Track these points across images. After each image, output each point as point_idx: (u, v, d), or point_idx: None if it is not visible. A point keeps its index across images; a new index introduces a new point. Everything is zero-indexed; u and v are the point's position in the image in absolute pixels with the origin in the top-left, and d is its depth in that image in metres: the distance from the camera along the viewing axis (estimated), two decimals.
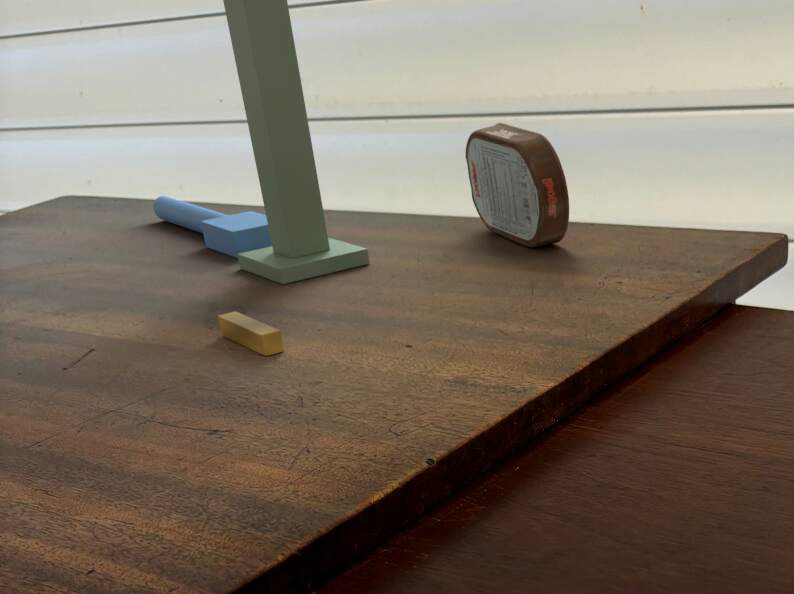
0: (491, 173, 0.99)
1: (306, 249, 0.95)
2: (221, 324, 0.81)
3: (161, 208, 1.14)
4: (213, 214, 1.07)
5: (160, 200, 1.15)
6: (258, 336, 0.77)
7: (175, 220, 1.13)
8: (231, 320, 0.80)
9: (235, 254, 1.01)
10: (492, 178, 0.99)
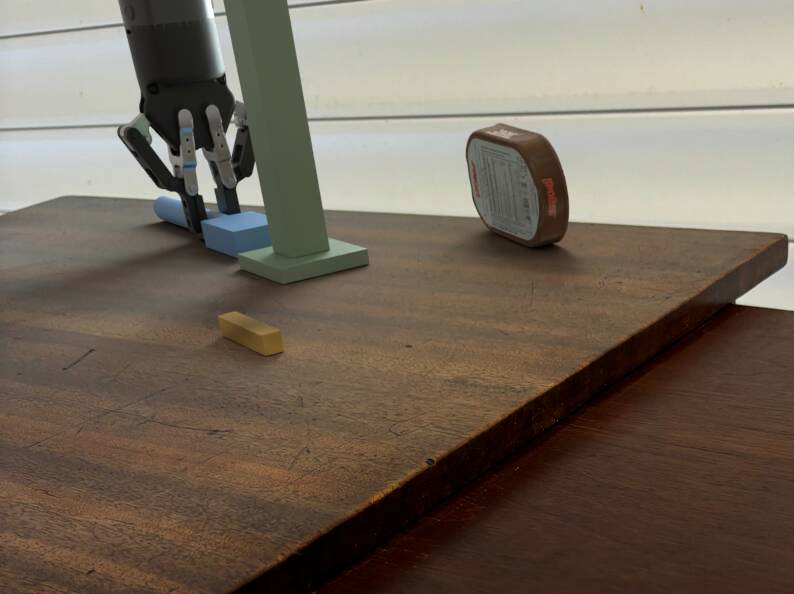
0: (491, 173, 0.99)
1: (306, 249, 0.95)
2: (221, 324, 0.81)
3: (161, 208, 1.14)
4: (213, 214, 1.07)
5: (160, 200, 1.15)
6: (258, 336, 0.77)
7: (175, 220, 1.13)
8: (231, 320, 0.80)
9: (235, 254, 1.01)
10: (492, 178, 0.99)
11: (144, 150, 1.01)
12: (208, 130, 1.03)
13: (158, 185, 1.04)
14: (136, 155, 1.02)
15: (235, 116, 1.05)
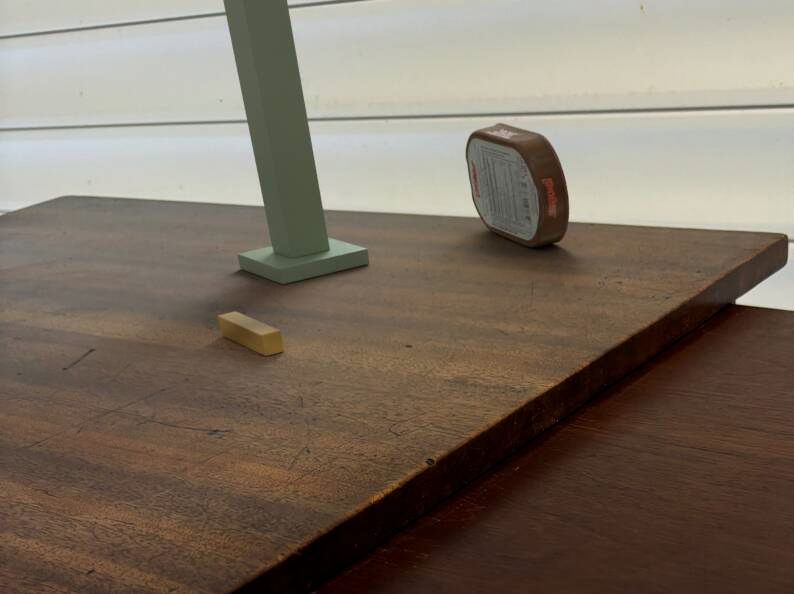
0: (491, 173, 0.99)
1: (306, 249, 0.95)
2: (221, 324, 0.81)
3: None
4: None
5: None
6: (258, 336, 0.77)
7: None
8: (231, 320, 0.80)
9: None
10: (492, 179, 0.99)
11: None
12: None
13: None
14: None
15: None
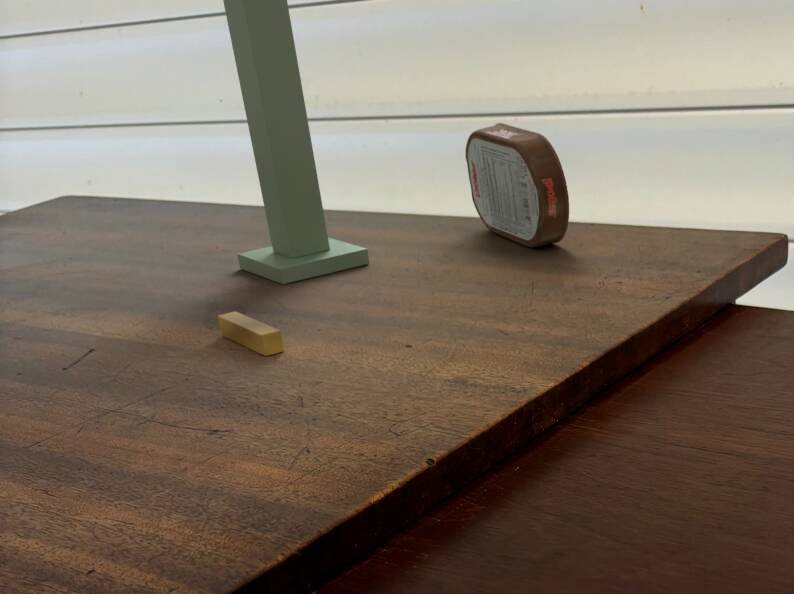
0: (491, 173, 0.99)
1: (306, 249, 0.95)
2: (221, 324, 0.81)
3: None
4: None
5: None
6: (258, 336, 0.77)
7: None
8: (231, 320, 0.80)
9: None
10: (492, 179, 0.99)
11: None
12: None
13: None
14: None
15: None
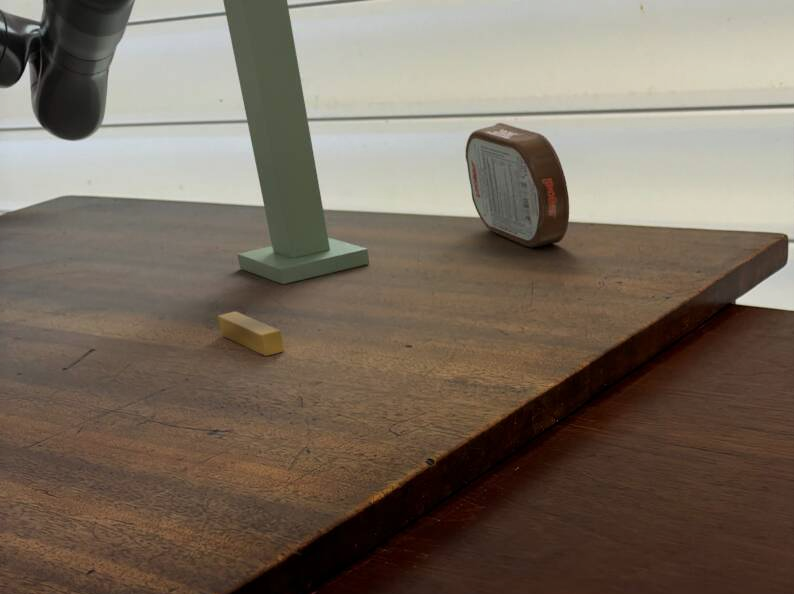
0: (491, 173, 0.99)
1: (306, 249, 0.95)
2: (221, 324, 0.81)
3: None
4: None
5: None
6: (258, 336, 0.77)
7: None
8: (231, 320, 0.80)
9: None
10: (492, 179, 0.99)
11: None
12: None
13: None
14: None
15: None
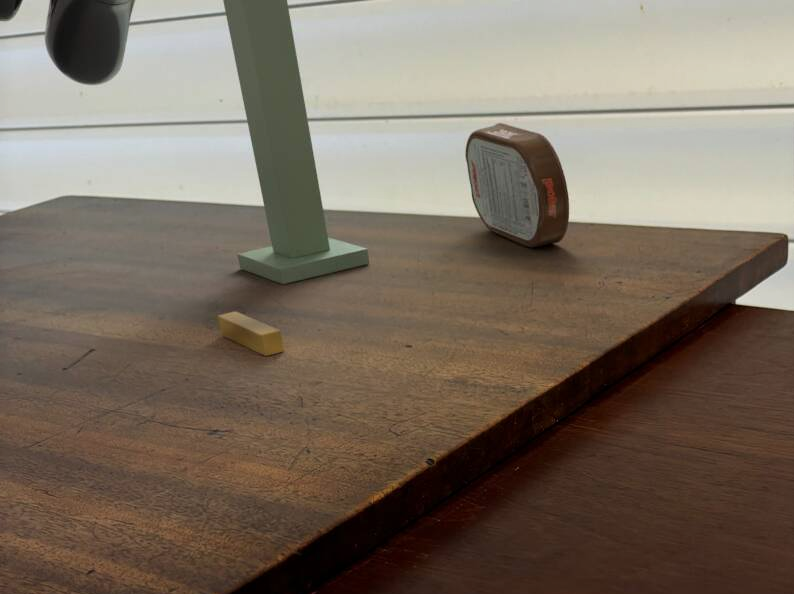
0: (491, 173, 0.99)
1: (306, 249, 0.95)
2: (221, 324, 0.81)
3: None
4: None
5: None
6: (258, 336, 0.77)
7: None
8: (231, 320, 0.80)
9: None
10: (492, 179, 0.99)
11: None
12: None
13: None
14: None
15: None
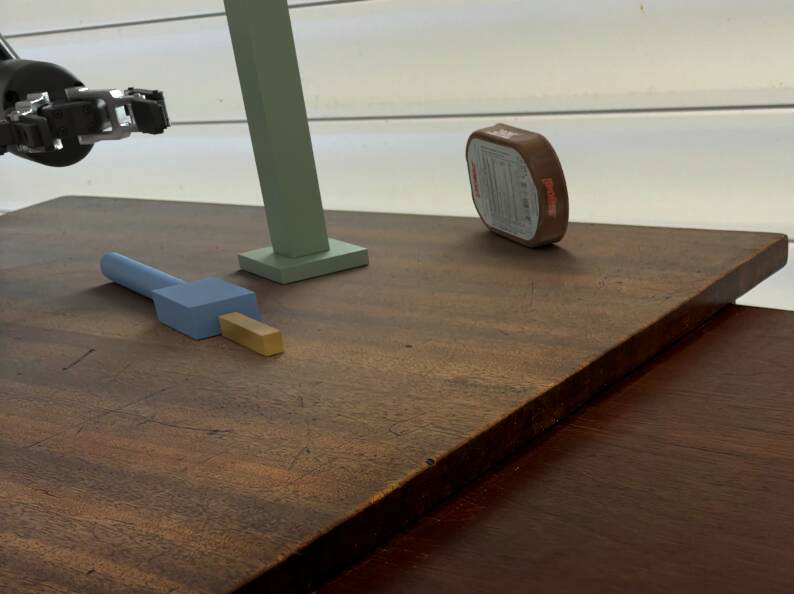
0: (490, 173, 0.99)
1: (306, 249, 0.95)
2: (221, 325, 0.81)
3: (109, 268, 0.95)
4: (168, 280, 0.87)
5: (108, 258, 0.95)
6: (258, 337, 0.77)
7: (125, 283, 0.93)
8: (231, 320, 0.80)
9: (192, 334, 0.82)
10: (492, 179, 0.99)
11: None
12: (84, 98, 0.91)
13: None
14: None
15: None
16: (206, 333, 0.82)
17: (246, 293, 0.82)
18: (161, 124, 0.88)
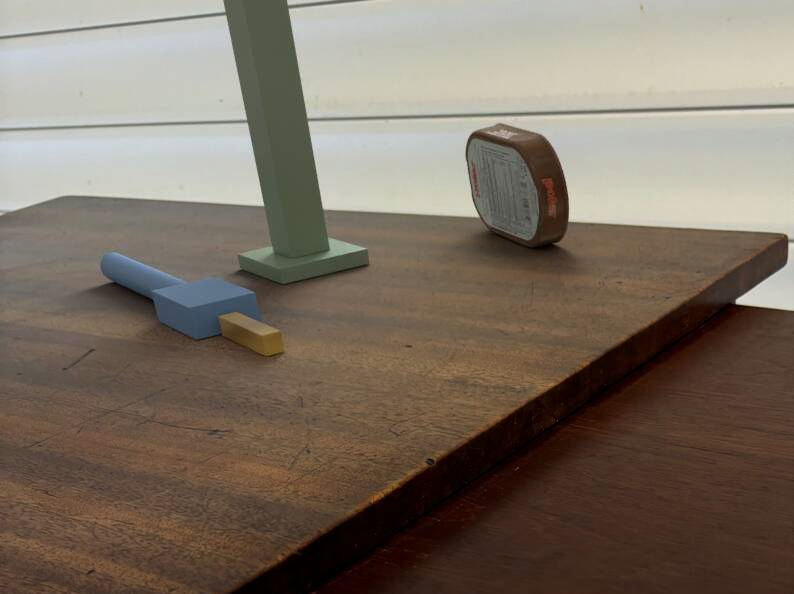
0: (490, 173, 0.98)
1: (306, 249, 0.95)
2: (221, 325, 0.81)
3: (109, 268, 0.95)
4: (168, 280, 0.87)
5: (108, 258, 0.95)
6: (258, 337, 0.77)
7: (125, 283, 0.93)
8: (231, 320, 0.80)
9: (192, 334, 0.82)
10: (492, 179, 0.99)
11: None
12: None
13: None
14: None
15: None
16: (206, 333, 0.82)
17: (246, 293, 0.82)
18: None
